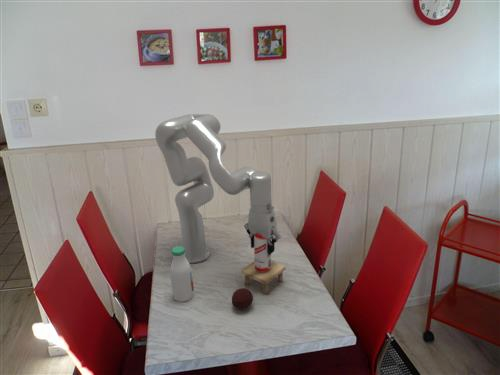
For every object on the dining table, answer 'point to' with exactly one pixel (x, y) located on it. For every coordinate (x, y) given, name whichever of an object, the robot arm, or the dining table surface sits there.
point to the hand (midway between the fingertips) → (262, 249)
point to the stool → (263, 274)
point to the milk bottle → (181, 275)
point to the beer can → (261, 253)
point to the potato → (242, 298)
